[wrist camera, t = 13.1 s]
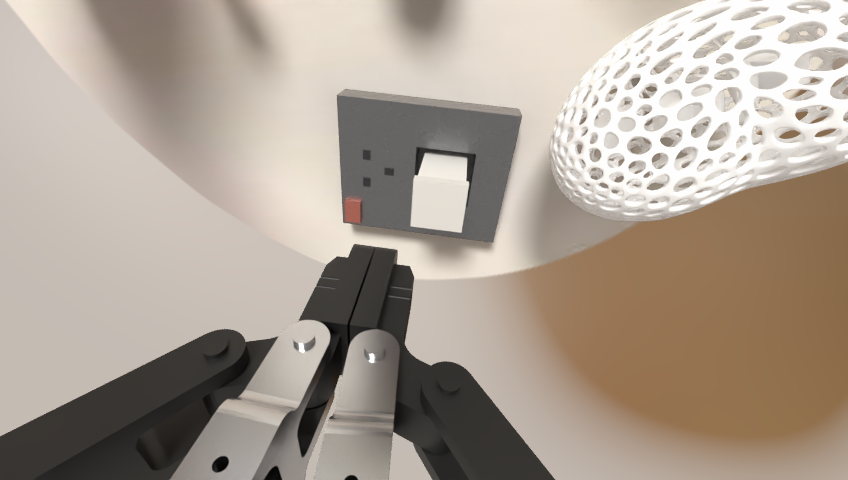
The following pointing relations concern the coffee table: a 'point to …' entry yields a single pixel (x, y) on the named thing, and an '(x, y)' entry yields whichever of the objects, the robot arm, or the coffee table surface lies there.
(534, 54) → the coffee table surface
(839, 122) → the decorative heart
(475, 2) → the coffee table surface
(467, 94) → the coffee table surface
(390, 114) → the socket plate
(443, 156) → the plug
